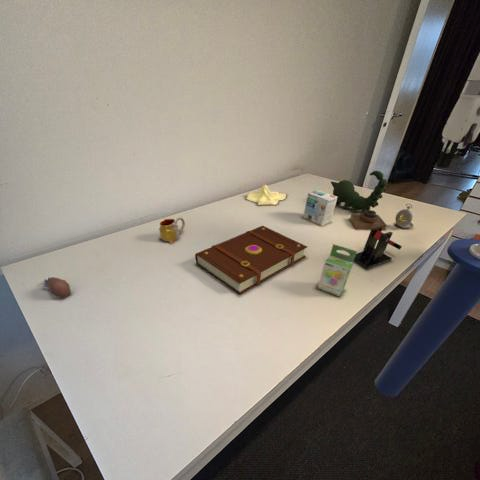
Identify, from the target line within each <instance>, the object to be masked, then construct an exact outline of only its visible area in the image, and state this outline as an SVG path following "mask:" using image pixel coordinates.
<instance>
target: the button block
mask: <svg viewBox="0 0 480 480" xmlns="http://www.w3.org/2000/svg"><path fill="white" fill-rule="evenodd" d="M365 213H366V212H363V213H362V212H361V214H359V213H351V214H350V216H349V221H350V222H351V224H352V225H353V227H354V228H355V229H356V230H367V231H368V230H369V231H371V229H374V228H377V227H382V228H383V229H382V231H385V230H386V228H387V223H386V222H385V221H384V220H383V219H382V217H381V216H380V215H379V214H377V213H376V215H375V217H374V218H370V217H366V216H365Z"/></svg>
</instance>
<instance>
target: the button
mask: <svg viewBox="0 0 480 480" xmlns="http://www.w3.org/2000/svg"><path fill="white" fill-rule="evenodd" d="M376 214H377V212H376V211H375V210H371V209H370V210H367V211H366V213H365V216H366V217H370V218H374V217H375V215H376Z"/></svg>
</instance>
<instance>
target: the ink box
mask: <svg viewBox="0 0 480 480" xmlns="http://www.w3.org/2000/svg"><path fill="white" fill-rule="evenodd" d="M331 246H332V247H331V249H330V253H329V256H327V258H326V259H325V261H324V264H323V267H322V271H321V274H320V278H319V282H318V285H317V286H318V287H317V289H318V290H321V291H324V292H326V293H329V294H332V295H335V296H337V297H340V296H341V294H342V293H343V291H344V290H345V287H346V284H347V281H348V278H349V276H350V273H351V270H352V268H353V265H354V258H355V256H356V254H357V253H358V250H355V249H351V248H348V247H345V246H341V245H338V244H332V245H331ZM338 251H343V252H346V253H347V254H344V253H341V252H338ZM348 254H349V255H348Z"/></svg>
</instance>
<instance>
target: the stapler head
mask: <svg viewBox="0 0 480 480" xmlns="http://www.w3.org/2000/svg"><path fill="white" fill-rule="evenodd" d="M384 233H385V232H383V231H381V232H380V231H377V232H376V234H375V235H374V236H373V237H374V238H376V239H377V241H379V238H380V236H381V234H384ZM388 245H389V246H391V247H393V248H395V249H397V250H398V251H400V250H401V248H403V246H402V245H401V244H398V243H397V242H395V241H394V240H391V239H390V240H389V242H388Z"/></svg>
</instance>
